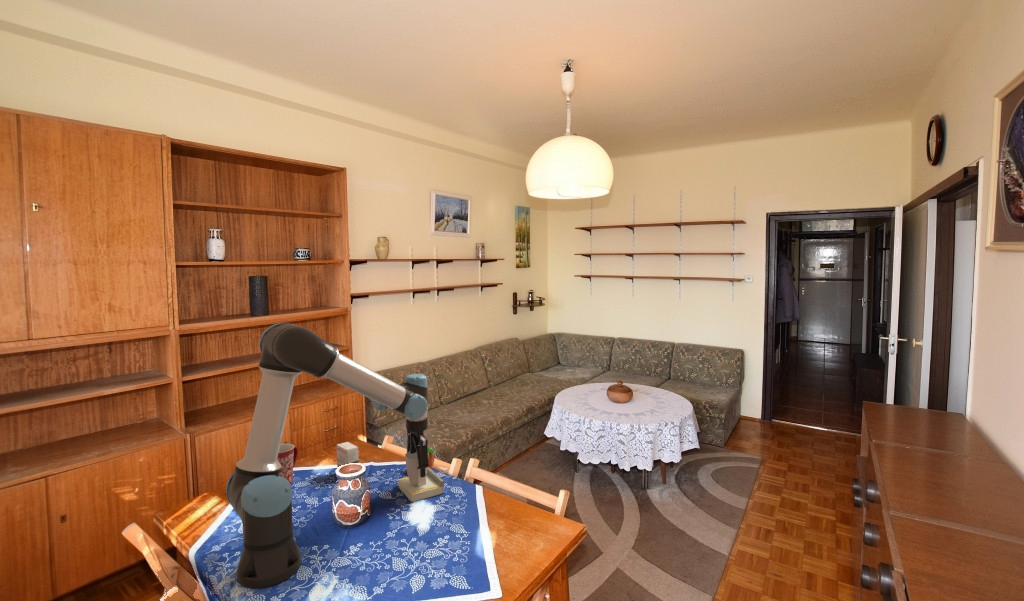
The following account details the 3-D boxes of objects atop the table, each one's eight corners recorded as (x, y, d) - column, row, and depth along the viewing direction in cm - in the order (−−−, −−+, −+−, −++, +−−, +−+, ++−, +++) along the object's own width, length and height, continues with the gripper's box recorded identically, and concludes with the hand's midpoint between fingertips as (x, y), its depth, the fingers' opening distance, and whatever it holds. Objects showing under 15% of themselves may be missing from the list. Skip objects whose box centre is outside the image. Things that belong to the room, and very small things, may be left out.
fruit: (424, 477, 184) (424, 451, 184) (406, 471, 190) (405, 446, 189) (439, 469, 192) (439, 444, 191) (421, 463, 197) (421, 439, 196)
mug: (283, 490, 173) (281, 453, 172) (262, 487, 176) (261, 451, 175) (307, 475, 185) (306, 441, 184) (287, 472, 188) (286, 438, 187)
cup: (433, 480, 174) (433, 453, 174) (417, 488, 168) (417, 460, 167) (416, 474, 179) (416, 448, 178) (400, 483, 172) (400, 455, 171)
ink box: (359, 476, 185) (359, 446, 184) (347, 480, 181) (347, 450, 180) (348, 470, 191) (347, 440, 190) (336, 474, 187) (335, 444, 186)
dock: (444, 493, 171) (443, 480, 171) (411, 502, 165) (411, 489, 165) (428, 478, 183) (428, 466, 183) (397, 486, 177) (397, 474, 176)
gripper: (438, 424, 165) (439, 489, 167) (416, 409, 182) (416, 468, 184) (417, 428, 161) (418, 494, 163) (396, 412, 178) (397, 472, 180)
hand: (417, 480), depth 173 cm, fingers closed on cup, 8 cm apart
